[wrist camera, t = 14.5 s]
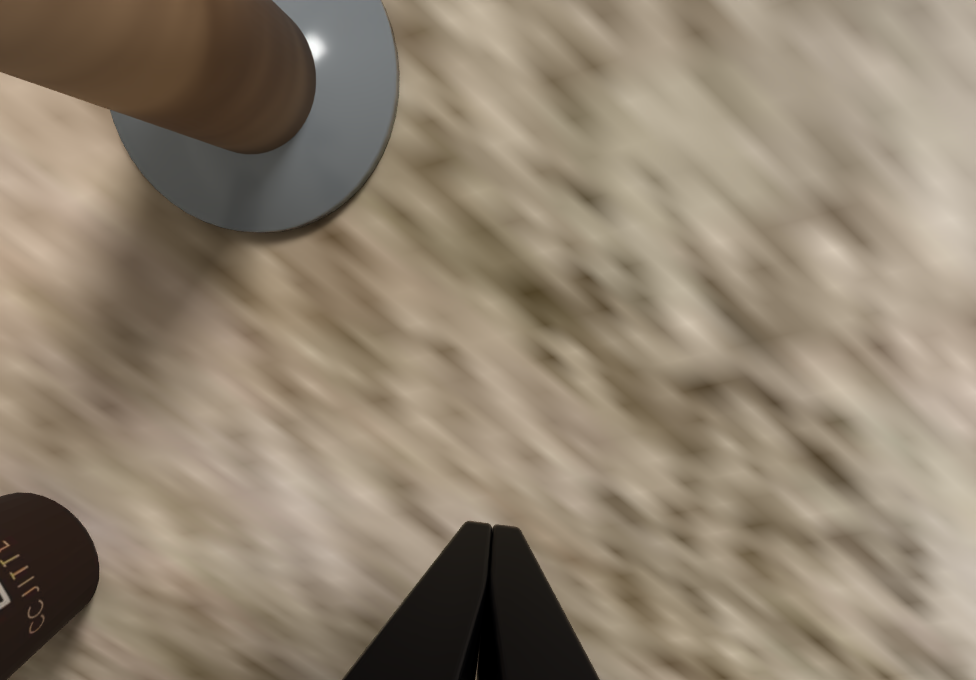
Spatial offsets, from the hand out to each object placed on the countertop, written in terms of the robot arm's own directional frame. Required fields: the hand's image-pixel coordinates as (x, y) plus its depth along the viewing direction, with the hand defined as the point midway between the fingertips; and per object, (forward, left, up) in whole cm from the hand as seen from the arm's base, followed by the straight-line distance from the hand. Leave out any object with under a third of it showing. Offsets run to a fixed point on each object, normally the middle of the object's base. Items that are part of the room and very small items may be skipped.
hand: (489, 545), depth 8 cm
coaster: (+10, +11, -12) cm, 19 cm away
